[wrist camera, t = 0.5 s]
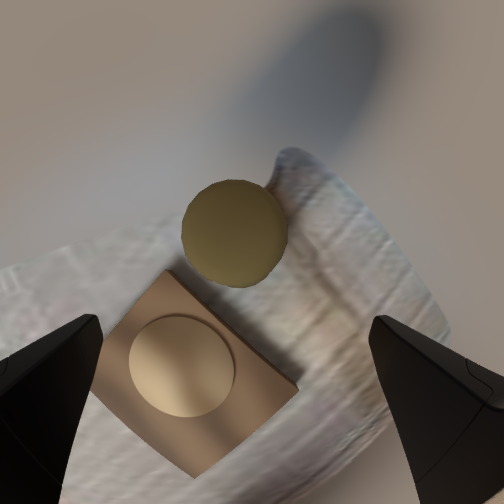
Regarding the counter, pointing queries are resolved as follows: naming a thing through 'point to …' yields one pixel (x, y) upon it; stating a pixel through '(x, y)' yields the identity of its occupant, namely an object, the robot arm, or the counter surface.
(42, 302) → the counter surface
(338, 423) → the counter surface
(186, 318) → the plate
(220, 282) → the pepper shaker
